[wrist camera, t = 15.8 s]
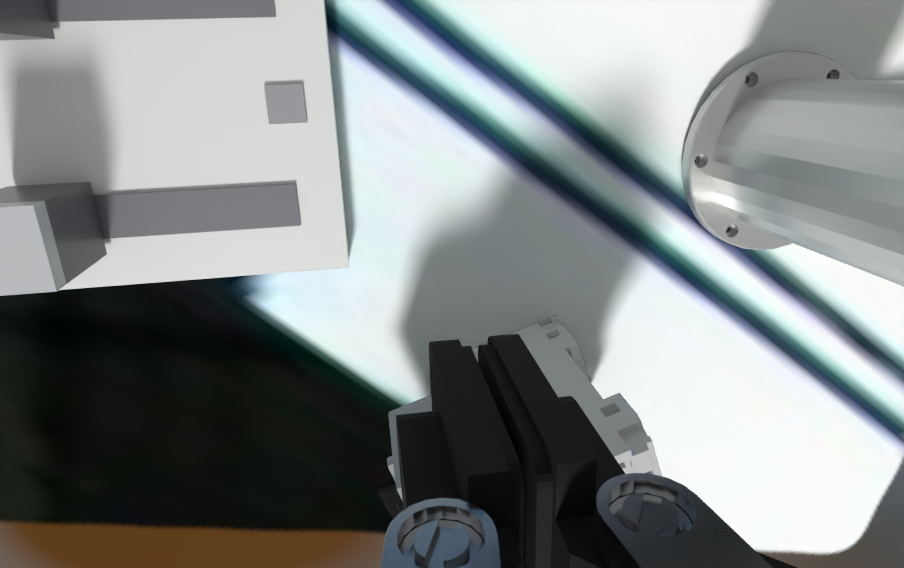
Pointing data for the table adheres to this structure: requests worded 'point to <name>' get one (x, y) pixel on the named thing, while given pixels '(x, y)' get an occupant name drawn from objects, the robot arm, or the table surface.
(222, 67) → the breaker panel
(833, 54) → the table surface
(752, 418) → the table surface
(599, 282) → the table surface
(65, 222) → the on handle
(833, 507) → the table surface
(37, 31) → the handle
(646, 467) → the circuit breaker
